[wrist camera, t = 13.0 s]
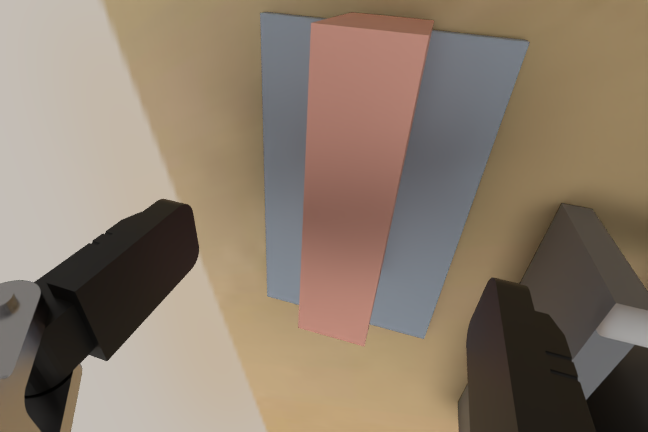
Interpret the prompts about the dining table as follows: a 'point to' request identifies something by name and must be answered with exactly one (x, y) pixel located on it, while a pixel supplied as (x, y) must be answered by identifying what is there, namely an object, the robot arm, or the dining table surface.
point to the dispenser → (593, 318)
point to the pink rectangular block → (354, 161)
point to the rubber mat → (418, 171)
